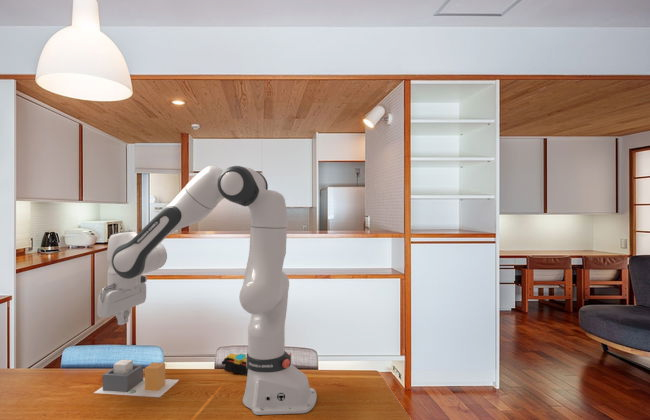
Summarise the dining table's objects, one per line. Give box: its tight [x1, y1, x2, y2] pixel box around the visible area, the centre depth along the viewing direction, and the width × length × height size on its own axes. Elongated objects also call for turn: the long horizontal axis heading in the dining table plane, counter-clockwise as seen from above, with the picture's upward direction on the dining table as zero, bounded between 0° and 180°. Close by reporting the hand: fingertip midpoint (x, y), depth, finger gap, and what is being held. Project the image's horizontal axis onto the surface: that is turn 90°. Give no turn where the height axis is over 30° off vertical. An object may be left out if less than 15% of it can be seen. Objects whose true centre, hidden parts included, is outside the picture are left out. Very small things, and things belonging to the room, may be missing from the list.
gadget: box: [221, 352, 248, 376], centre depth 140 cm, size 6×13×6 cm, turn 78°
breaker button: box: [113, 359, 134, 375], centre depth 127 cm, size 4×4×4 cm
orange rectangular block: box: [144, 362, 166, 391], centre depth 126 cm, size 4×4×7 cm
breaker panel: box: [93, 364, 180, 398], centre depth 127 cm, size 22×12×6 cm, turn 83°
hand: (123, 323), depth 127 cm, fingers closed
